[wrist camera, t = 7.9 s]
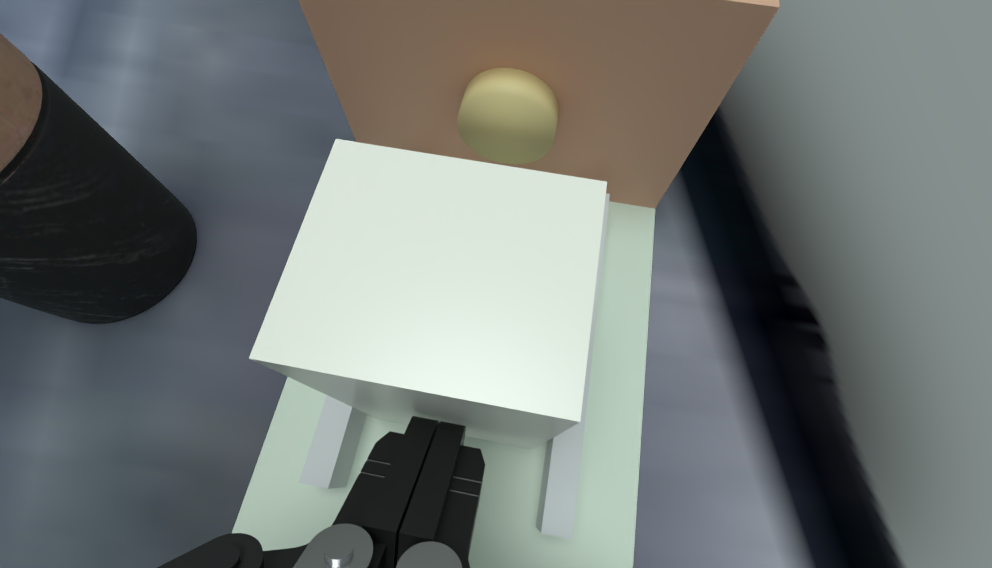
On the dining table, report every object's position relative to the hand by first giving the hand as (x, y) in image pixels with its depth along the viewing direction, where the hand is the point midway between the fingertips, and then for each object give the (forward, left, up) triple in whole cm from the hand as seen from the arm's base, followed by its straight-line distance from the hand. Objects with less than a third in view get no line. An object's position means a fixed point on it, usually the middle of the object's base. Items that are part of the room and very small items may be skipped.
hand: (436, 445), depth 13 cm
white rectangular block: (+2, +2, -5) cm, 6 cm away
